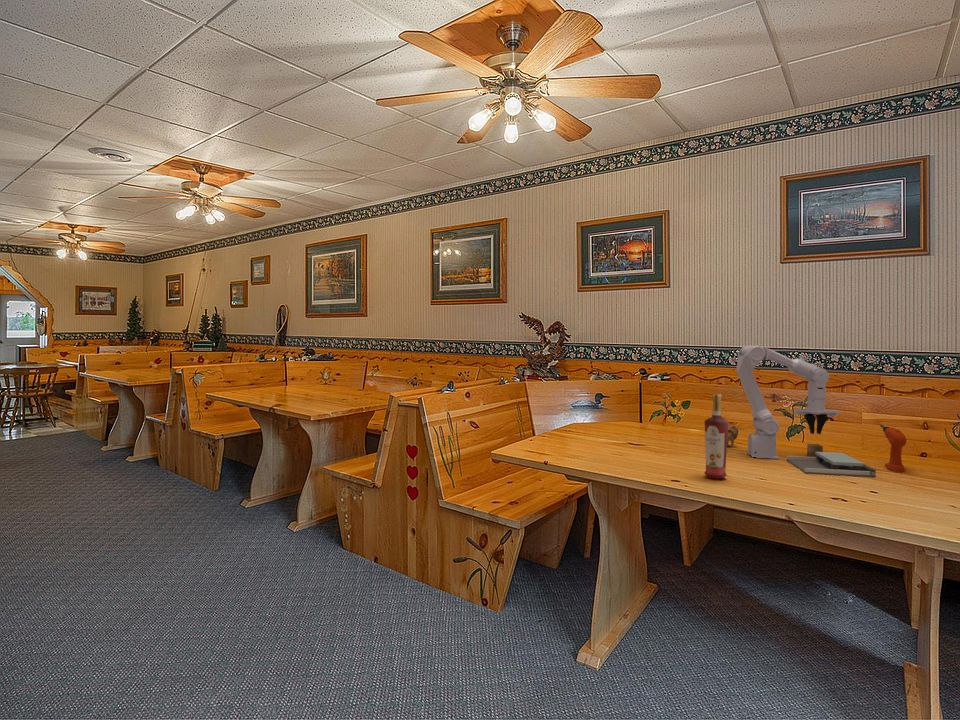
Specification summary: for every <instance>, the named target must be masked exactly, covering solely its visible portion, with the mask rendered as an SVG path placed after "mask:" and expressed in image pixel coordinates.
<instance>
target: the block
mask: <svg viewBox="0 0 960 720" xmlns="http://www.w3.org/2000/svg"><path fill="white" fill-rule="evenodd" d="M806 446H807V447H806V448H807V449H806V457H807V456H808V457H817V455H815V452H824V446H823V445H821V444H820V443H819V444H817V443H816V444H815V443H806Z"/></svg>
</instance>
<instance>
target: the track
mask: <svg viewBox="0 0 960 720" xmlns="http://www.w3.org/2000/svg"><path fill="white" fill-rule="evenodd" d="M786 462H788V463H790V464H791V465H792V464H793V466H794V467H795V468H797V469H798V470H799V469H800V471H801V472H803V474H807V475H810V474H811V475H825V476H840V475H841V476H842V475H843V477H859V478H862V477H863V478H876V477H877V475H876V473H877V470H876V469H874V468H872V467H871V466H869V465H867V464H865V463H863V466H861V467H862V470H861V471H854V470H853V466H847V465H839V466H840V469H839V470H834V469H831V465H832V464H831V463H829V462H828V461H826V460H824V461H823V462H819V461H817V459H816V457H807V456H801V455H800V456H797V455H796V456H795V455H787V456H786Z"/></svg>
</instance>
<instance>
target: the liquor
mask: <svg viewBox="0 0 960 720" xmlns="http://www.w3.org/2000/svg"><path fill="white" fill-rule="evenodd" d="M721 403H722V394H721V393H712V413H711V417H708V418H707V419H706V420H704V443H705V444H704V445H705V471H704V472H703V473H704V474H705V476H707V478H708V479H710V480H711V479H712V480H723V479H724V478H726V476H728V475H727V473H726V468H727V466H726V465H727V449H728V447H727V440H728V429H729V427H730V423H729V421H728V420H727V419H725V418H722V417H723V416H722V405H721Z"/></svg>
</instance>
